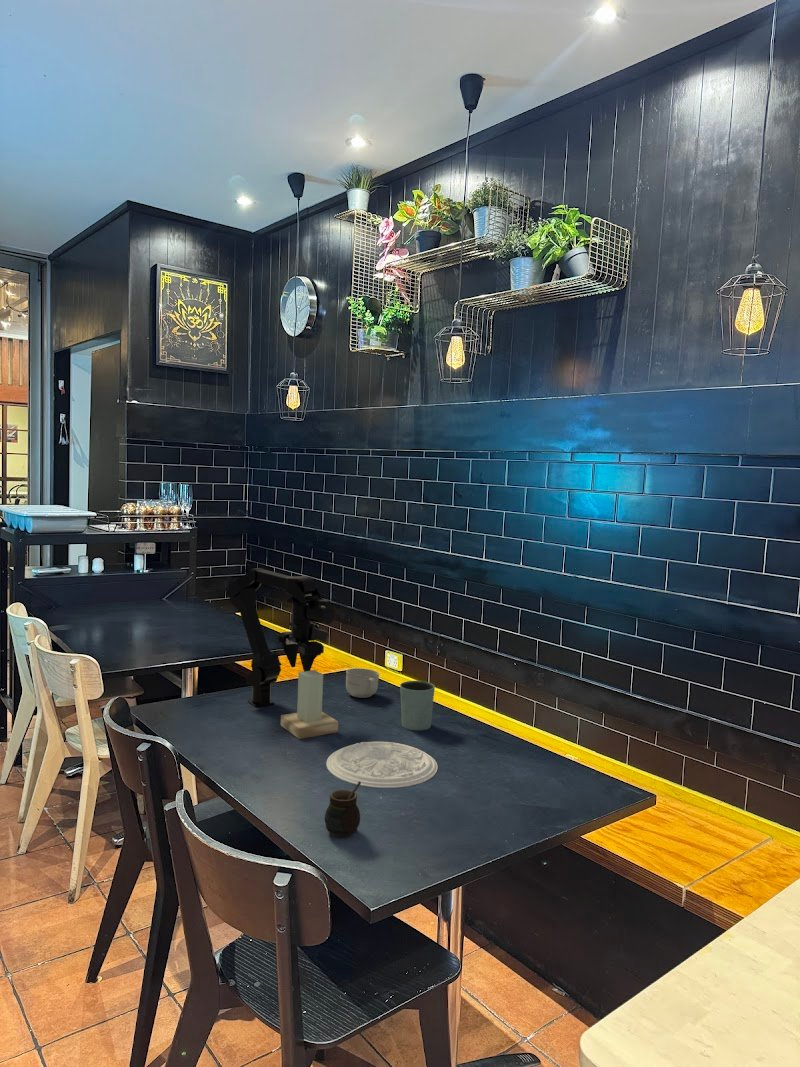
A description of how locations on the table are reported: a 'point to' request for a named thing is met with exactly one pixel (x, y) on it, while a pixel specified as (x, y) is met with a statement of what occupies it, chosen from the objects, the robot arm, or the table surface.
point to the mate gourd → (342, 813)
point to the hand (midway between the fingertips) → (299, 671)
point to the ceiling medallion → (382, 765)
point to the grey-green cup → (416, 704)
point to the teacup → (361, 682)
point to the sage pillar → (310, 696)
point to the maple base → (309, 726)
